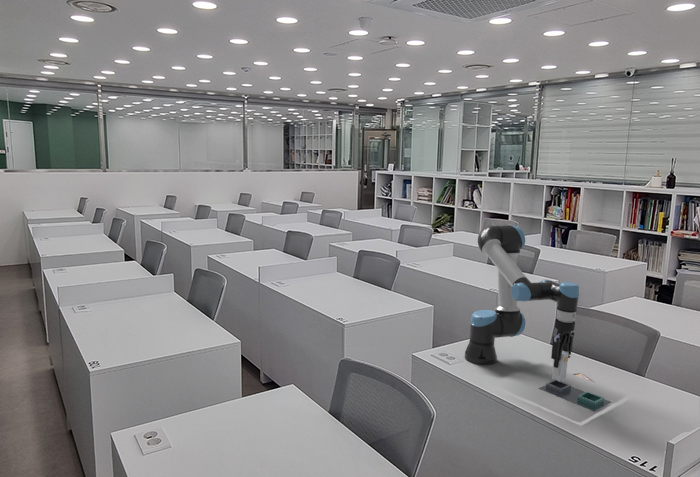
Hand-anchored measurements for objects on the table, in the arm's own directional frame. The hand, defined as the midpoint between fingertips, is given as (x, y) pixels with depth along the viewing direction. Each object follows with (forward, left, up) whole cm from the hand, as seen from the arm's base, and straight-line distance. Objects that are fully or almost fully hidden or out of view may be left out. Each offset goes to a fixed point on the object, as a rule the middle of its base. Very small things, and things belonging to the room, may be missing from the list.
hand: (559, 372), depth 217 cm
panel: (+7, 0, -8) cm, 11 cm away
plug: (0, 0, -3) cm, 3 cm away
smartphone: (+2, +19, -9) cm, 21 cm away
